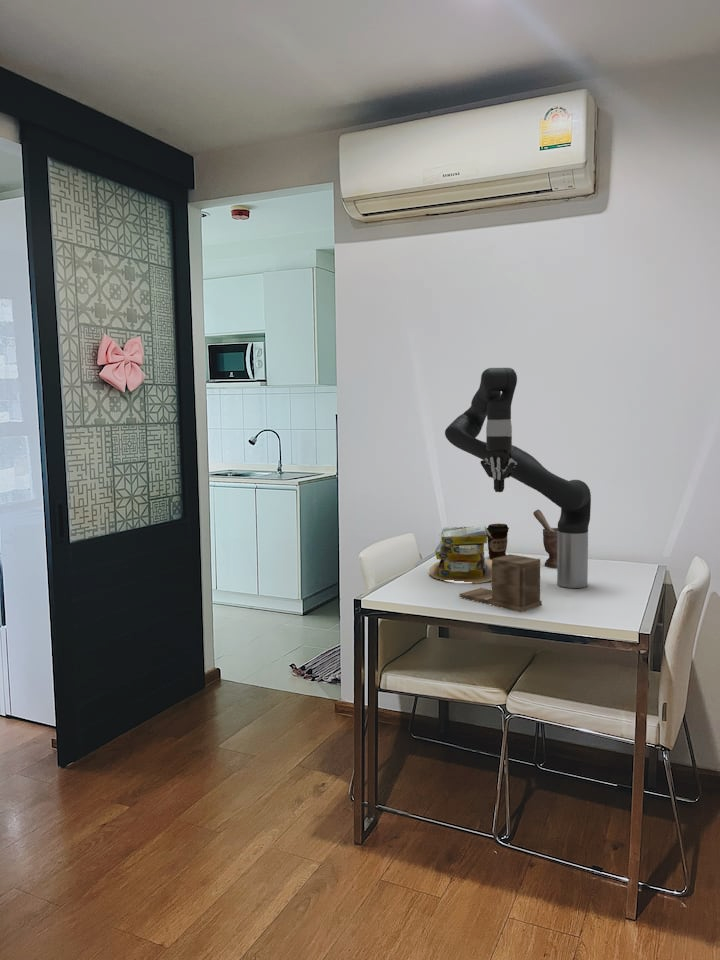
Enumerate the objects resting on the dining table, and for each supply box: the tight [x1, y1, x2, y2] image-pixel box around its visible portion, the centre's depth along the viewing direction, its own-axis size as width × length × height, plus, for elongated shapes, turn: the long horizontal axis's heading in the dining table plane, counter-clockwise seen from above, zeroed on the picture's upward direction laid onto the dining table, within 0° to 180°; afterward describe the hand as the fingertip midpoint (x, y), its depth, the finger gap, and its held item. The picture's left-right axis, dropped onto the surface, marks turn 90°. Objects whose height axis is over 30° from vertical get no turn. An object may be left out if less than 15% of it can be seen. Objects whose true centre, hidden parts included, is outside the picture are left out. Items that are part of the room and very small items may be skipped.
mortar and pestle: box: [532, 509, 558, 568], centre depth 257 cm, size 12×9×20 cm
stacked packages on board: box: [428, 524, 492, 584], centre depth 246 cm, size 25×25×17 cm
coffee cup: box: [486, 523, 510, 560], centre depth 270 cm, size 9×8×13 cm
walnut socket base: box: [459, 553, 543, 613], centre depth 212 cm, size 22×10×13 cm, turn 42°
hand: (499, 491), depth 220 cm, fingers closed
